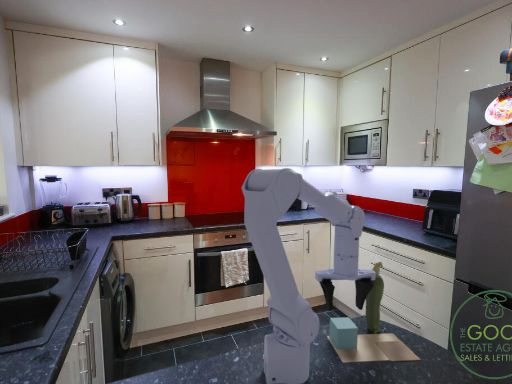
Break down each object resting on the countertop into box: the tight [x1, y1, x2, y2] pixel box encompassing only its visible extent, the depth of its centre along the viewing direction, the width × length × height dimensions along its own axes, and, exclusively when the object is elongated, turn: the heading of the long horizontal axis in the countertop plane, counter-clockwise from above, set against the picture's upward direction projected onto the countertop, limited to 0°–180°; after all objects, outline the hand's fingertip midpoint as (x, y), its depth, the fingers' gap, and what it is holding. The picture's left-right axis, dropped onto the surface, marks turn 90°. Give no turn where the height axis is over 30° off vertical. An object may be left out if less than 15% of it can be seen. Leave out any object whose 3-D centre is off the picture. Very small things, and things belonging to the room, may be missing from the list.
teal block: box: [328, 316, 359, 349], centre depth 67 cm, size 5×5×5 cm
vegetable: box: [365, 261, 385, 334], centre depth 73 cm, size 4×4×20 cm
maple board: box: [326, 332, 421, 363], centre depth 65 cm, size 18×10×1 cm, turn 95°
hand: (344, 308), depth 66 cm, fingers open, 7 cm apart
